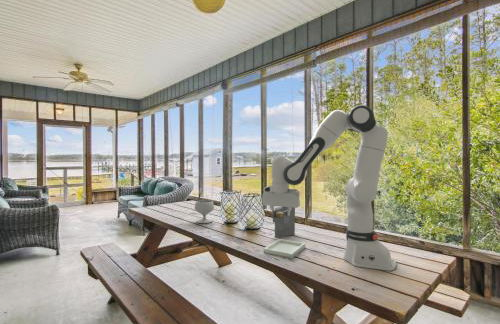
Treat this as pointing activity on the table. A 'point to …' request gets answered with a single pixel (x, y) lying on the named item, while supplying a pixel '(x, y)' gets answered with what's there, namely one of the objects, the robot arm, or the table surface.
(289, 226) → the hip flask
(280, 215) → the block
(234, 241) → the table surface
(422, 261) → the table surface
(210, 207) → the chalice
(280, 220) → the caddy
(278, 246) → the tray
